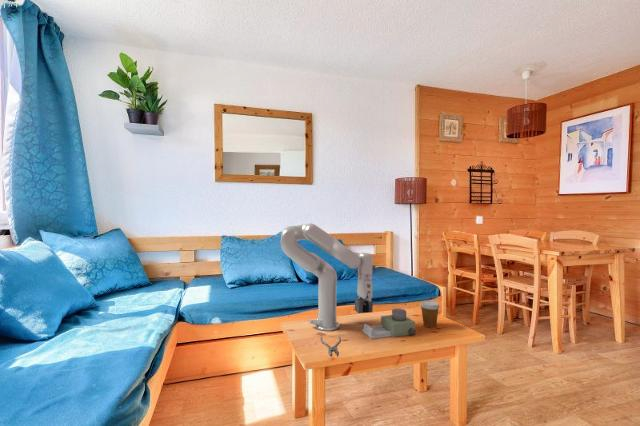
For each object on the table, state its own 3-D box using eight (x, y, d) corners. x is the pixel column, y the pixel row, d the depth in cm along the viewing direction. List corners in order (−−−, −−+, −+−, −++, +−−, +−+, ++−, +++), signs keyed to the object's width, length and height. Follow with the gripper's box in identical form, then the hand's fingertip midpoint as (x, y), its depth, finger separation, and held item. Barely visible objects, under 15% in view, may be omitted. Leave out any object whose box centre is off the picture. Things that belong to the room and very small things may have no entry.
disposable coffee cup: (442, 329, 153) (442, 305, 153) (423, 329, 153) (423, 305, 153) (435, 322, 162) (435, 300, 162) (417, 322, 162) (417, 300, 162)
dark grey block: (358, 313, 155) (358, 301, 155) (354, 310, 160) (355, 298, 160) (372, 312, 157) (372, 301, 157) (368, 309, 162) (368, 298, 162)
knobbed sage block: (373, 340, 139) (373, 319, 139) (360, 329, 153) (360, 309, 153) (416, 334, 146) (416, 314, 146) (400, 324, 159) (400, 305, 159)
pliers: (337, 334, 145) (352, 352, 126) (337, 336, 145) (352, 354, 126) (318, 336, 143) (330, 355, 124) (318, 338, 143) (330, 357, 124)
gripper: (378, 279, 152) (377, 315, 152) (364, 273, 168) (363, 305, 168) (365, 280, 149) (363, 316, 149) (352, 273, 166) (350, 306, 166)
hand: (363, 310), depth 159 cm, fingers closed on dark grey block, 5 cm apart
